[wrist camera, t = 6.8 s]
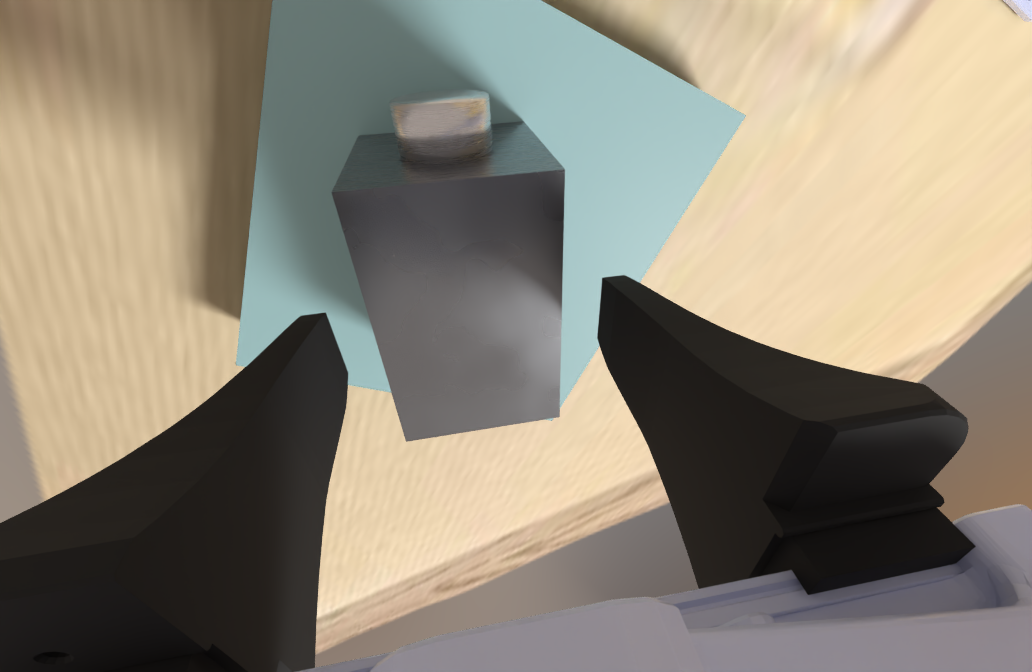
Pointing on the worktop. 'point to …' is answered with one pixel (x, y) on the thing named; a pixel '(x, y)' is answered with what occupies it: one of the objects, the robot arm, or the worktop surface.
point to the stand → (513, 98)
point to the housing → (459, 262)
